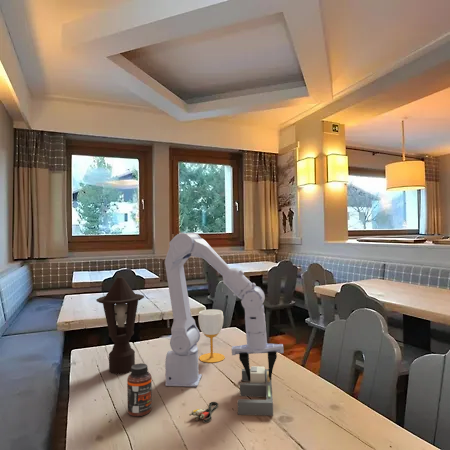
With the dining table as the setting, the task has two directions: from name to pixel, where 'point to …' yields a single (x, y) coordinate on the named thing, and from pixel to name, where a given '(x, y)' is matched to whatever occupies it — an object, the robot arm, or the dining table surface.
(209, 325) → the cup
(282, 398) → the dining table surface
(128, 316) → the lantern
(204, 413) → the composite cable
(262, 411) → the socket panel
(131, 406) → the supplement bottle
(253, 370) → the plug
